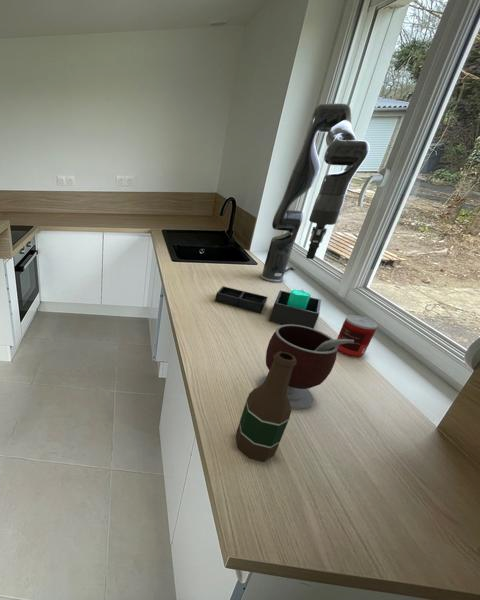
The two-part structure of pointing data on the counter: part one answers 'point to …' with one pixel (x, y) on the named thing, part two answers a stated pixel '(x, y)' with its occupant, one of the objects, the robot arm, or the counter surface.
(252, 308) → the black divided tray
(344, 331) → the canned food
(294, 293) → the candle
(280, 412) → the beer bottle
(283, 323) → the black open box
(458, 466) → the counter surface
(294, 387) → the mate gourd
